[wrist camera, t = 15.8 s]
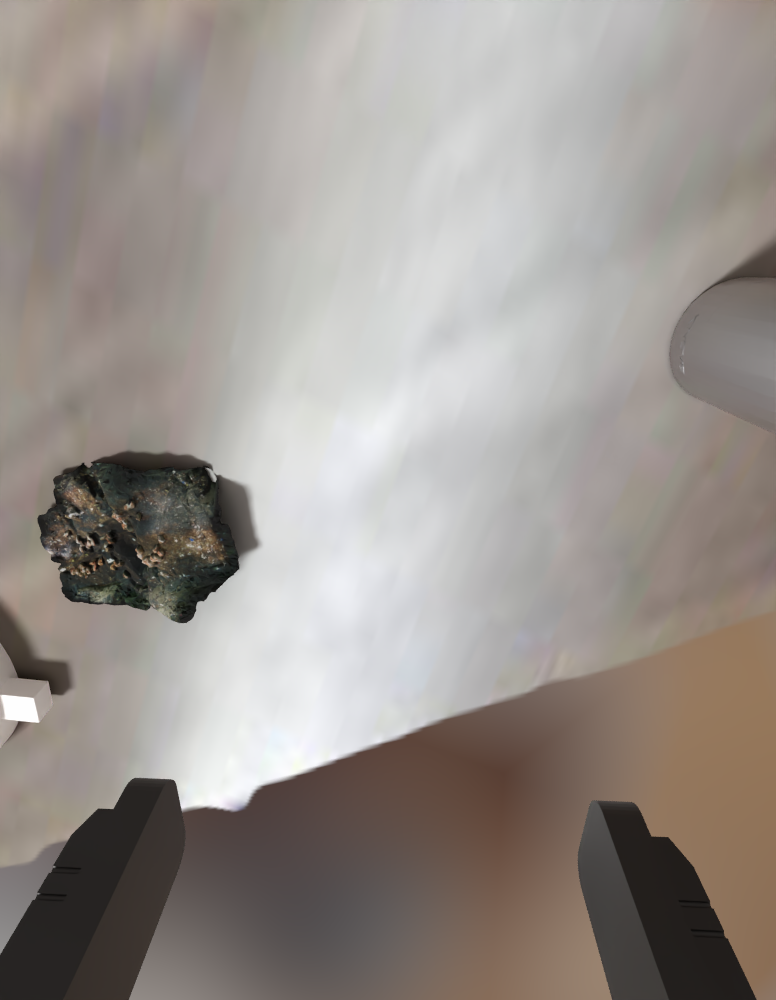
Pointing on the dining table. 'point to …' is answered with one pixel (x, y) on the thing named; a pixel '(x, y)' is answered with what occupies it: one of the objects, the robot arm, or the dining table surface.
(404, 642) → the dining table surface
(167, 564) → the decorative rock
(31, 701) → the ring with crossbar
